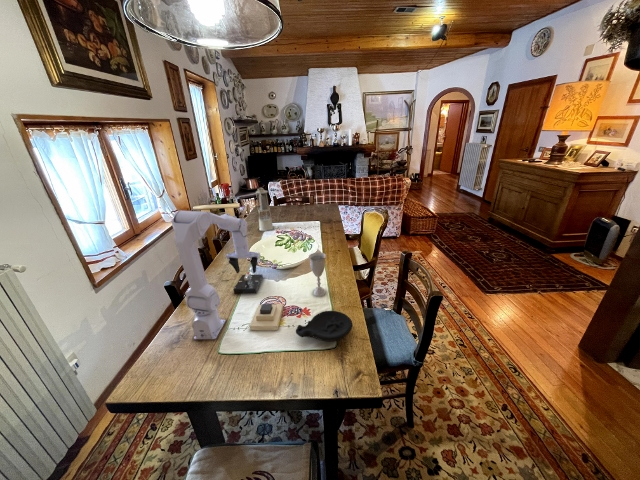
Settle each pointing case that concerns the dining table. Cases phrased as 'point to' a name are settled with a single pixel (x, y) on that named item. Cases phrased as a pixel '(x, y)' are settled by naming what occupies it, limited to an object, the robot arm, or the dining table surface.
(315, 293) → the chalice
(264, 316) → the stepped cream base
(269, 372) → the dining table surface
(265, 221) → the lamp
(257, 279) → the browning panel
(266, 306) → the switch
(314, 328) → the oil lamp
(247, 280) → the dial
